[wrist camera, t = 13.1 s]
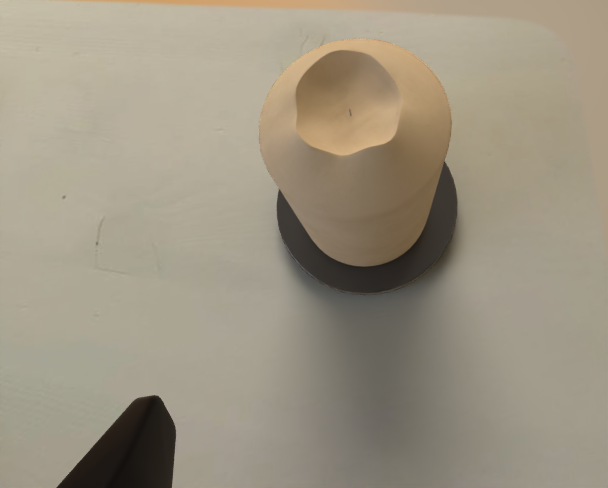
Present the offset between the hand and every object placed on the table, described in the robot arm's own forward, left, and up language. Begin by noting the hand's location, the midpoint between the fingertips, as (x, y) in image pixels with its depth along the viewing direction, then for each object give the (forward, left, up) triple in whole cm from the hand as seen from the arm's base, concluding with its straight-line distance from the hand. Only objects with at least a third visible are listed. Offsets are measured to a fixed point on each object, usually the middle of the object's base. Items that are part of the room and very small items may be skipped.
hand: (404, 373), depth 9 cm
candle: (+6, -3, -13) cm, 15 cm away
